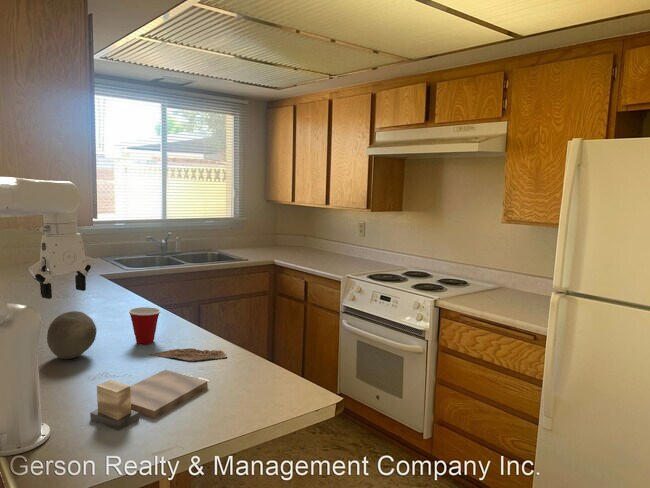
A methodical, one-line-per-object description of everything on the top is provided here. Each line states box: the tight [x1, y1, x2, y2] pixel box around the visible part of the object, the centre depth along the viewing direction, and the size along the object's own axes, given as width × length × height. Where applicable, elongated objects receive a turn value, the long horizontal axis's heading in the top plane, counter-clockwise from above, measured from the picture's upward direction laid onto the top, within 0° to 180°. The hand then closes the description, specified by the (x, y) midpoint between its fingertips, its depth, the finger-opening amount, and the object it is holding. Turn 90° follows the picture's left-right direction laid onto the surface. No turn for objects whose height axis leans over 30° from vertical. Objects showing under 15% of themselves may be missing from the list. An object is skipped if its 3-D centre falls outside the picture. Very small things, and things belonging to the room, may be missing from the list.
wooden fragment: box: [150, 348, 227, 362], centre depth 161 cm, size 26×11×1 cm, turn 85°
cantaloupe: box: [46, 310, 97, 360], centre depth 156 cm, size 14×14×15 cm
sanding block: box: [89, 379, 140, 431], centre depth 119 cm, size 6×10×9 cm, turn 63°
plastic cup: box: [128, 306, 162, 346], centre depth 172 cm, size 11×11×12 cm
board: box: [129, 369, 208, 419], centre depth 132 cm, size 20×16×2 cm
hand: (64, 293), depth 127 cm, fingers open, 9 cm apart
